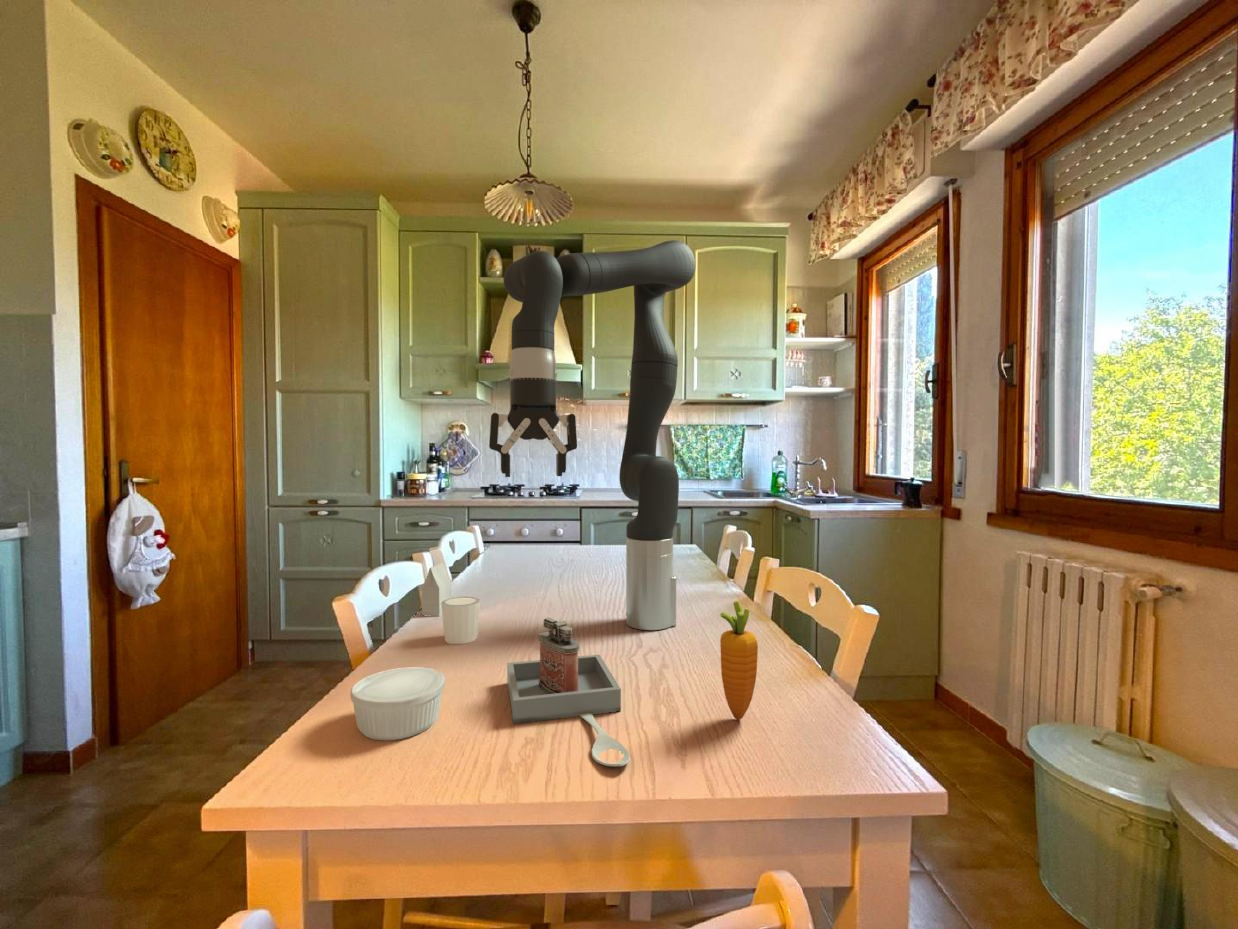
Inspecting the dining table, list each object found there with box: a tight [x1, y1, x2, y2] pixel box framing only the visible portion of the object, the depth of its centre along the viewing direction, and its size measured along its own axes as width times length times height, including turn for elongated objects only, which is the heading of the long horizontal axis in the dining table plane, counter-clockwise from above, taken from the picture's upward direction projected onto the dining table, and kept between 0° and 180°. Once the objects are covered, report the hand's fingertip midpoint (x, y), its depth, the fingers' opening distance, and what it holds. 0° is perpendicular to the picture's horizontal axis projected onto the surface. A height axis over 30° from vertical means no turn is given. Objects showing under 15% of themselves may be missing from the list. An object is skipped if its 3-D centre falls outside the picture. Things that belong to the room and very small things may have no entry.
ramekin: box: [350, 666, 446, 741], centre depth 72 cm, size 11×11×5 cm
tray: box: [506, 654, 622, 725], centre depth 80 cm, size 14×13×3 cm
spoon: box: [579, 713, 631, 767], centre depth 71 cm, size 4×21×2 cm, turn 19°
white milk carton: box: [421, 561, 453, 617], centre depth 121 cm, size 4×7×10 cm, turn 175°
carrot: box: [719, 601, 759, 721], centre depth 73 cm, size 5×5×15 cm
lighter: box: [538, 616, 580, 694], centre depth 80 cm, size 8×3×10 cm, turn 39°
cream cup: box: [441, 596, 481, 645], centre depth 104 cm, size 7×7×7 cm
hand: (533, 476), depth 95 cm, fingers open, 8 cm apart
